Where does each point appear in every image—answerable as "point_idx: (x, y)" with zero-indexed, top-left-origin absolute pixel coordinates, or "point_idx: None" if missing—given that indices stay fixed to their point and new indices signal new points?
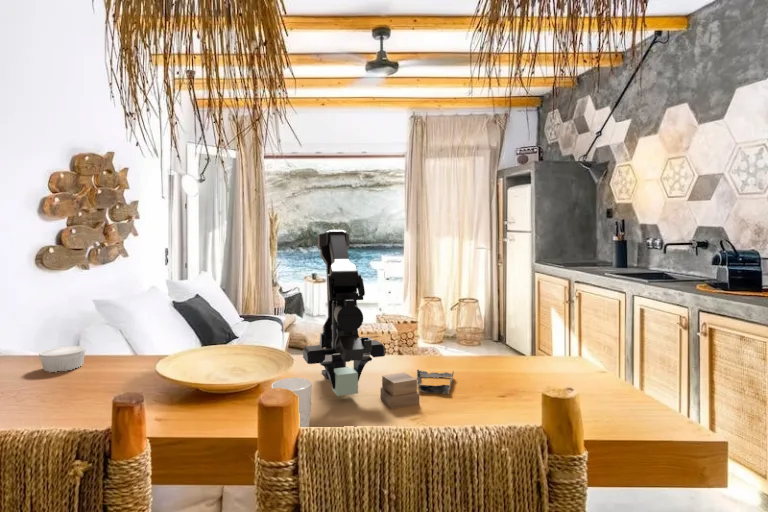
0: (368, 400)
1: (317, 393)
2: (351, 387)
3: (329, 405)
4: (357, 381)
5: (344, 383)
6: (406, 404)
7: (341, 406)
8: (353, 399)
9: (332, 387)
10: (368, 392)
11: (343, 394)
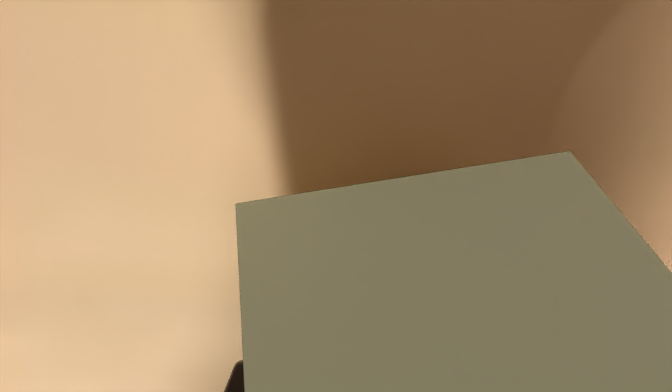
0: (72, 146)
1: None
2: (365, 262)
3: (621, 77)
4: (251, 367)
5: (535, 307)
6: None
7: (495, 8)
8: None
9: None
10: (68, 362)
11: (479, 173)
